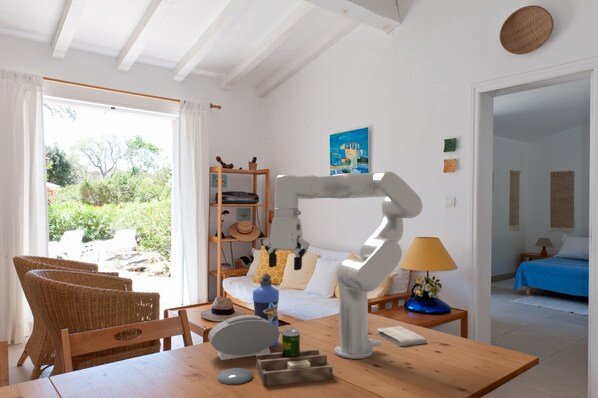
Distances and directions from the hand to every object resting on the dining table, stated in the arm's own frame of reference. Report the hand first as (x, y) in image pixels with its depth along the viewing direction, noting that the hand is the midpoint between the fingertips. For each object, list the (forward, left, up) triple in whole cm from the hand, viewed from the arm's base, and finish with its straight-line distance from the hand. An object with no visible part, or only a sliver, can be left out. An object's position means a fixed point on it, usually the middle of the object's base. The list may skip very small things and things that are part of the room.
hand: (284, 268), depth 137 cm
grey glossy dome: (+16, +7, -30) cm, 35 cm away
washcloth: (-48, -15, -31) cm, 59 cm away
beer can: (-1, +6, -30) cm, 31 cm away
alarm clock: (+11, -12, -30) cm, 34 cm away
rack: (-1, +8, -30) cm, 31 cm away
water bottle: (+2, -21, -30) cm, 37 cm away
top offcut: (-1, +12, -28) cm, 31 cm away
